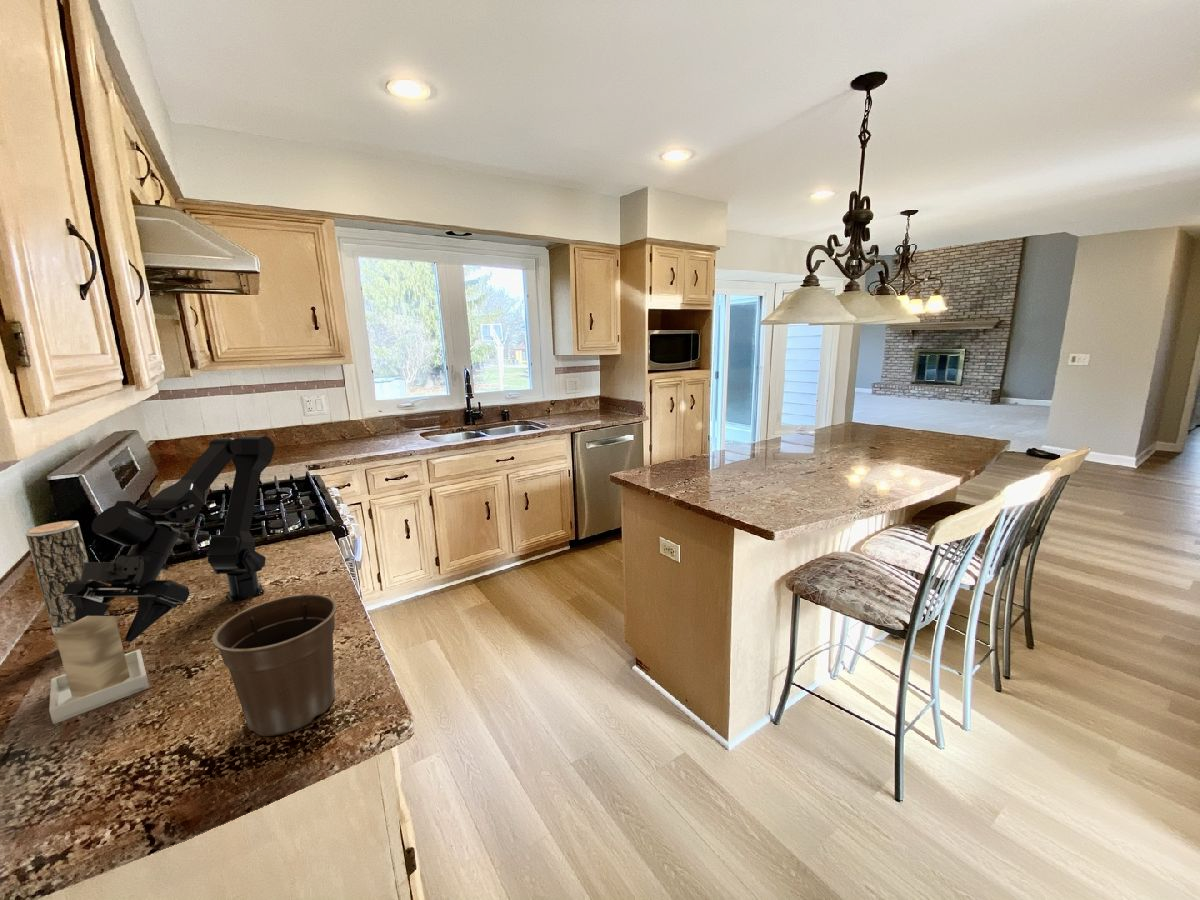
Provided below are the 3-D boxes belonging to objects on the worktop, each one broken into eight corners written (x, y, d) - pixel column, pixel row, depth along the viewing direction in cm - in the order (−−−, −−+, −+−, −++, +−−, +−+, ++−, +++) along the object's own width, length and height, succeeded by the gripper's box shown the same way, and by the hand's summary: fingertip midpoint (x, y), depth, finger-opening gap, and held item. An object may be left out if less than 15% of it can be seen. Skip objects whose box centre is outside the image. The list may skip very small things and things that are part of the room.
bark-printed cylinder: (58, 645, 96) (26, 527, 91) (106, 630, 101) (78, 518, 96) (57, 659, 92) (23, 536, 87) (108, 643, 97) (78, 526, 92)
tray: (54, 691, 83) (51, 678, 82) (142, 660, 91) (140, 648, 91) (53, 724, 76) (49, 710, 75) (149, 687, 84) (146, 675, 83)
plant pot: (239, 695, 81) (222, 608, 78) (346, 664, 89) (335, 584, 86) (222, 765, 68) (200, 663, 64) (350, 721, 75) (337, 628, 72)
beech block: (102, 676, 86) (87, 615, 83) (129, 676, 86) (115, 615, 83) (71, 696, 81) (54, 632, 78) (100, 696, 81) (83, 632, 78)
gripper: (60, 539, 85) (0, 631, 77) (162, 538, 85) (113, 631, 76) (115, 561, 95) (67, 645, 86) (207, 560, 94) (168, 645, 86)
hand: (102, 641), depth 83 cm, fingers open, 9 cm apart
